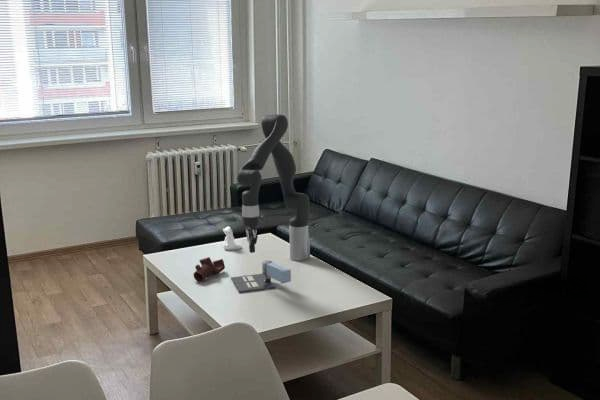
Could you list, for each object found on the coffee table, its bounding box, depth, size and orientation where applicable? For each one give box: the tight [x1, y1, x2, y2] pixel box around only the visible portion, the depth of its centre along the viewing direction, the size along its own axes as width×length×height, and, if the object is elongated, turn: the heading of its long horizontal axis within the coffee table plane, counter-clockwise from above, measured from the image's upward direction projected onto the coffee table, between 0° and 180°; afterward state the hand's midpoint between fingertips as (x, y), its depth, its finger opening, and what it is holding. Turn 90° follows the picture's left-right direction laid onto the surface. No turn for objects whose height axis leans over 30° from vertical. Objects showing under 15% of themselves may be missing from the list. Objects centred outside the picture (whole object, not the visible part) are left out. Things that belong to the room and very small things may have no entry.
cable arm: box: [261, 259, 292, 285], centre depth 305 cm, size 17×5×6 cm, turn 36°
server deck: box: [230, 273, 276, 294], centre depth 309 cm, size 16×18×4 cm
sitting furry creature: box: [222, 226, 243, 251], centre depth 360 cm, size 10×9×12 cm
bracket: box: [193, 256, 226, 283], centre depth 319 cm, size 6×17×10 cm, turn 151°
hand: (252, 252), depth 307 cm, fingers closed
